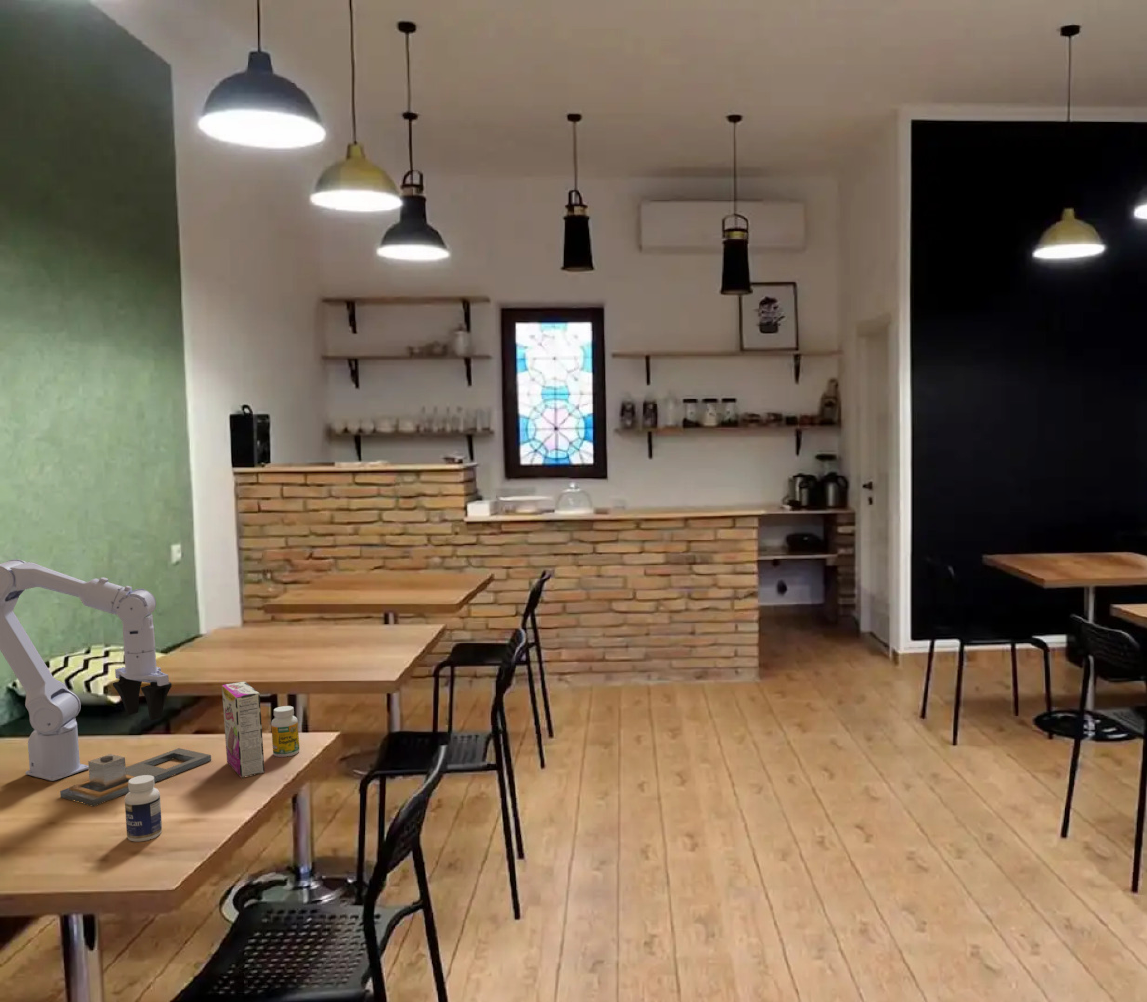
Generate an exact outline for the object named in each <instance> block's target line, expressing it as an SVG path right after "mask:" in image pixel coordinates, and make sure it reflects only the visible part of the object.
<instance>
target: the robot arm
mask: <svg viewBox="0 0 1147 1002" xmlns="http://www.w3.org/2000/svg"><path fill="white" fill-rule="evenodd" d="M34 588H40V589H41V588H42V589H46V590H49V591H53V592H56V593H61V594H64V595H69V596H72V597H77V598H79V599H80V601H81V603H82V604H83V606H85V607H88V608H91V609H95V610H98V611H102V612H105V613H108V614H111V615H114V616H117V617H118V618H119V619H120V620H121V622H122V636H123V637H122V638H123V650H124V651H123V653H124V666H123V667H119V668H115V669H114V672H115V673H114V674H115V679H116V680H117V679H118V681H115V682H113V683H112V687H113V688H114V689H115V690H116V692H117V694H118V695H119V697H120V699H121V702H122V704H123V707H124V710H125V712H126V715H127V716H132V715H134V714H138V713H139V710H140V691H141V692H142V693H143V696H144V698H145V700H146V704H147V711H148V715H149V719H150V720H151V721H155V720H159V719H161V718H163V717H162V716H163V712H164V707H165V703H166V699H167V696H168V694H169V692H170V690H171V688H172V686H173V685H172V682H170V679H169V678H170V677H169V674H168V673H164V672H162V668H161V667H160V666H159V667H158V666H157V658H156V657H157V656H156V655H157V654H156V640H155V639H156V638H155V627H154V618H153V617H154V615H153V614H152V613H154V611H155V609H156V605H157V601H156V598H155V596H154V594H152V593H151V591H149V590H146V589H145V588H136V589H134V590H133V586H129V585H126V586H123V585H119V584H116V583H112V582H109V578H107V577H100V578H97V577H96V578H92V579H91V580H90V579H89V581H85V580H82V579H79V578H76V577H74V576H70V575H69V574H65V573H62V572H59V571H57V570H54V569H51V568H48V567H45V566H43V565H40V564H38V563H36V562H32V561H28V562H27V561H25V560H22V559H17V558H16V559H15V558H13V559H10V560H8V561H5V562H2V563H0V652H1V654H2V656H3V658H5V660H6V662H7V663H8V665H9V667H10V669H11V670H12V672H13V674H15V676H16V678H17V679H18V681H19V683H20V685H21V686H22V688H23V690H24V691H25V695H26V696H25V702H24V703H25V704H24V705H25V708H26V709H27V711H28V715H29V723H30V725H31V728H33V731H32V732H31V734H30V735H29V737H28V740H27V751H28V764H29V765H28V766H29V770H26V771H25V775H28V776H32V777H35V778H39V779H44V780H47V781H50V782H55V781H57V780H60V779H63V778H67V777H68V776H69V777H70V776H71V775H74V774H77V773H80V772H83V771H86V770H89V765H87V764H83V763H81V761H80V759H81V758H80V747H79V734H78V733H79V732H78V722H77V720H76V717H77V716H78V715H79V713H80V712H81V708H82V707H81V705H82V703H81V700H80V698H79V697H78V695H77V694H76V693H75V692H72V691H71V690H69V689H68V687H67V686H66V684H65V683H64V682H62V681H61V680H58V679H56V678H55V677H54V676H53V674H52V672H51V671H50V668H48V666H47V665H46V663H45V661H44V660H43V658H42V656H41V654H40V653H39V652H38V650H37V648H36V646H35V645H34V643H33V642H32V639H31V638H30V636H29V635H28V634H27V632H26V630H25V628H24V627H23V625H22V624H21V622H20V620H19V618H18V617H17V615H16V614H15V612H14V610H15V608H16V605H17V602H18V600H19V598H20V596H21V595H22V594H23V593H24V592H25V590H29V589H34ZM142 682H144V683H147V684H148V683H149V684H148V685H144V686H142Z"/></svg>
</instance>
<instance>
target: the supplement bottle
mask: <svg viewBox="0 0 1147 1002" xmlns="http://www.w3.org/2000/svg"><path fill="white" fill-rule="evenodd" d="M294 710H295V709H294V706H291V705H283V706H278V707H275V708H274V709H273V716H274V718H273V719H272V720H271V722H270V723H271V724H270V725H271V728H270V729H271V739H272V740H271V741H272V754H273V755H274V756H275V757H277V758H287V756H288V757H292V756H295V755H297V754H298V753H299V752H300V738H299V722H298V718H297V717H296V716H295V715H294V714H295V711H294Z"/></svg>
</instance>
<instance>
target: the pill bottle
mask: <svg viewBox="0 0 1147 1002" xmlns="http://www.w3.org/2000/svg"><path fill="white" fill-rule="evenodd" d="M128 788H129V791H130V792H129V793H127V794H125V796H124V808H125V810H124V811H125V824H126V825H125V827H126V838H127V840H128V841H131V842H146V841H151V840H153V839H155V838H157V837H158V836H160V835H161V833H162V831H163V825H162V823H163V821H162V807H161V793H160V791H159V789H158V788H156V787H155V783H154V777H153V776H151V775H142V776H137V777H134V778H132V779H130V780H129V781H128ZM150 839H151V840H150Z"/></svg>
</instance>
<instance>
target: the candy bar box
mask: <svg viewBox="0 0 1147 1002" xmlns="http://www.w3.org/2000/svg"><path fill="white" fill-rule="evenodd" d="M221 696H222V709H223V710H222V711H223V721H224V735H225V736H224V737H225V750H226V763H227V764H228V765H229V766H230V767H231V768H232V769H233V770H234V772H235V773H237V775H238V776H239V775H240V776H239V777H240V778H241V777H243V778H246V777H245V776H249V777H251V776H250V775H253V776H255V775H254V774H257V775H260V774H263V773H265V772H266V771H265V757H264V743H263V740H264V739H263V726H262V725H263V724H262V713H261V712H262V711H261V698H260V697H261V694H260V692H259V691H258V690H256V689H255V688H253V687H252V686H251V685H250V684H249V683H248V682H246V681H237V682H231V683H226V684H222V685H221Z"/></svg>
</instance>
